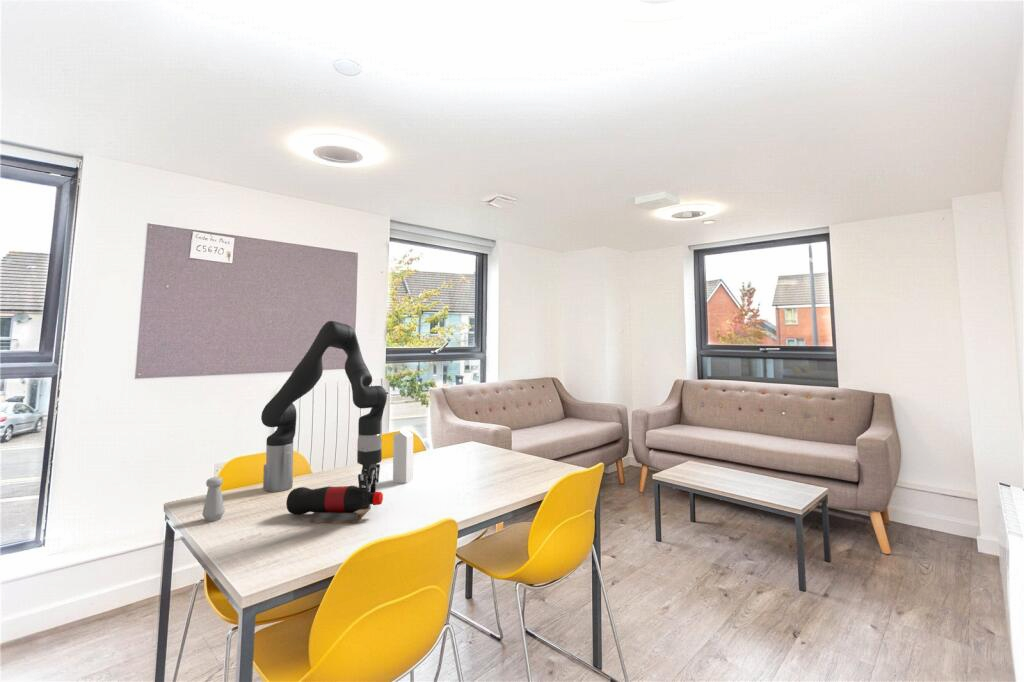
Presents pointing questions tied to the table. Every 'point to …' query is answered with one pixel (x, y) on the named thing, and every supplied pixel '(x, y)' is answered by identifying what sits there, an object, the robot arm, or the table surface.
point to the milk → (403, 456)
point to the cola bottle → (329, 500)
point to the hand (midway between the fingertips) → (369, 500)
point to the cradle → (340, 516)
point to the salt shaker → (213, 500)
